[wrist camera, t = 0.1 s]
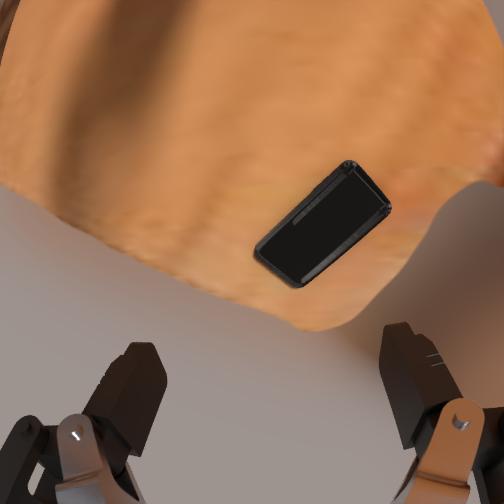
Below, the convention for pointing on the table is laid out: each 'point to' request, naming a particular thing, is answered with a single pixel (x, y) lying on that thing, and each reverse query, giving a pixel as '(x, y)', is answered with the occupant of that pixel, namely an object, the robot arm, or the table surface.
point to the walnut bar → (6, 21)
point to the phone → (324, 225)
